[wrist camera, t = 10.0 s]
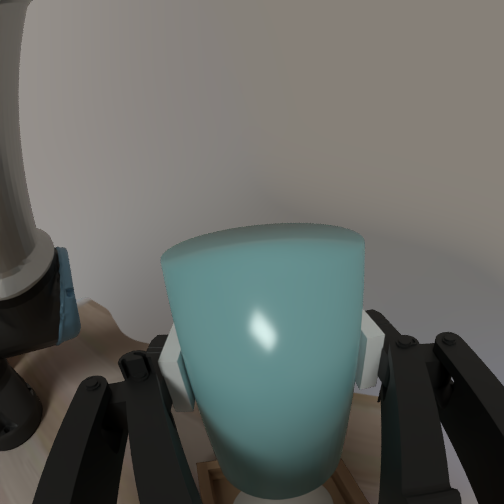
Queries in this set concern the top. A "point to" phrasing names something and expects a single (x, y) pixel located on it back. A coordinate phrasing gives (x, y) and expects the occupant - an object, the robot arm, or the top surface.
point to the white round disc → (316, 500)
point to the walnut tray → (224, 493)
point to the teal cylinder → (271, 347)
